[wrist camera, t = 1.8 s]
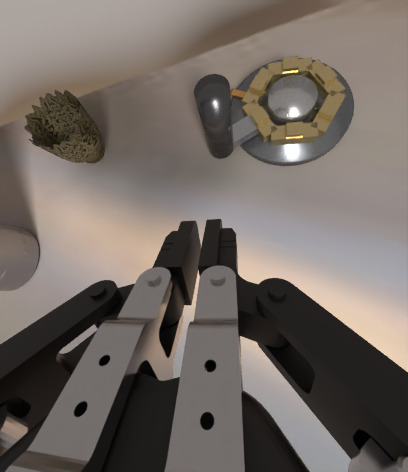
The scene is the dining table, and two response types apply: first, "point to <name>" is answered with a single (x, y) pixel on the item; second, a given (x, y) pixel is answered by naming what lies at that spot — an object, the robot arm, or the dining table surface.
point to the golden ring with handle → (256, 119)
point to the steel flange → (293, 117)
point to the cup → (65, 129)
